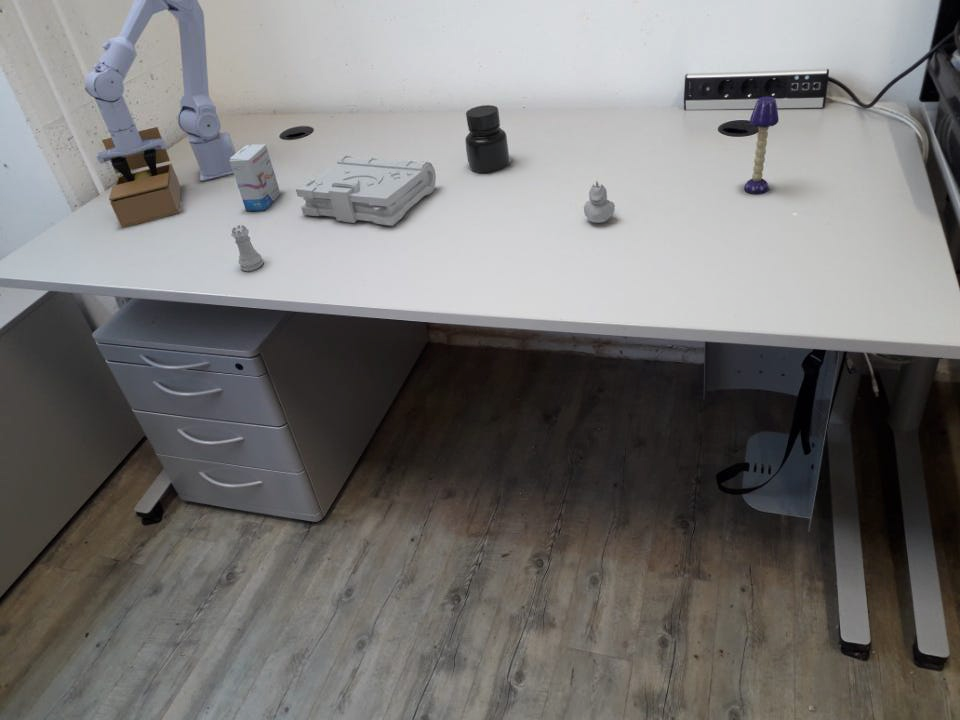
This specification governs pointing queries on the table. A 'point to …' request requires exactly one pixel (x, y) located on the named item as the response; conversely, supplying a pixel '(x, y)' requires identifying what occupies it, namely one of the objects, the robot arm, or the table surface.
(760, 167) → the toy lamp
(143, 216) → the bin
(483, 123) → the ink bottle
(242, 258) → the rook chess piece
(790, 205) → the table surface
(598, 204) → the rubber duck
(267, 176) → the ink box
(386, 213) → the book
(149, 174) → the yellow ball
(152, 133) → the flap
